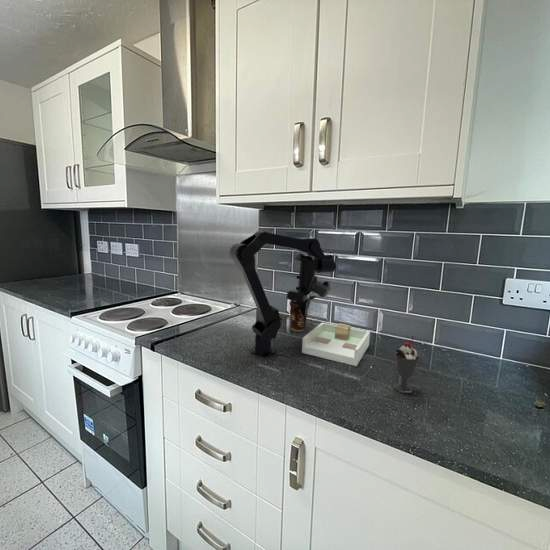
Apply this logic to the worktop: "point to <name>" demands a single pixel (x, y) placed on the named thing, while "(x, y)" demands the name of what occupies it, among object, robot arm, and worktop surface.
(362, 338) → the trap box
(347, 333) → the block
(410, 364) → the sundae
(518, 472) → the worktop surface
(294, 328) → the coffee cup
